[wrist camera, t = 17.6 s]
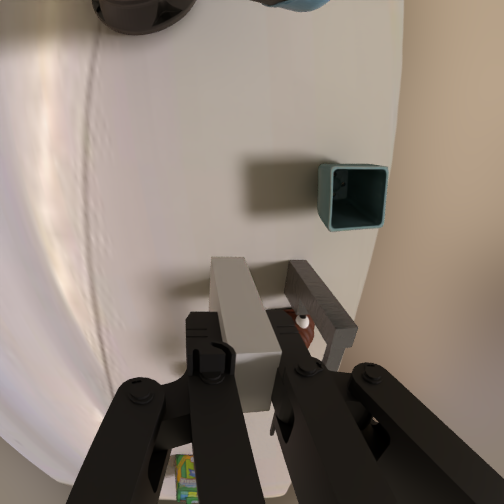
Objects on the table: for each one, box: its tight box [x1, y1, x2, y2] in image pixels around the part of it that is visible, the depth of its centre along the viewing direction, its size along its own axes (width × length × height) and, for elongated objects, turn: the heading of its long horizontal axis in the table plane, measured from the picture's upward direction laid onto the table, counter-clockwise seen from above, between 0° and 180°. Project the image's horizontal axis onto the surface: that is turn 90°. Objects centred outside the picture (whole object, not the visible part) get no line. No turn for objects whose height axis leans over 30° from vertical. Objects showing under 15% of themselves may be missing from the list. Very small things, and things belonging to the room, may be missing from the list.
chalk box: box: [175, 454, 198, 504], centre depth 65 cm, size 9×9×15 cm
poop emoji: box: [284, 309, 315, 349], centre depth 53 cm, size 10×8×9 cm
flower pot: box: [317, 164, 389, 232], centre depth 45 cm, size 9×9×9 cm
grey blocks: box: [284, 277, 309, 315], centre depth 55 cm, size 3×20×7 cm, turn 175°
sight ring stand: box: [287, 260, 358, 372], centre depth 47 cm, size 6×16×19 cm, turn 175°
